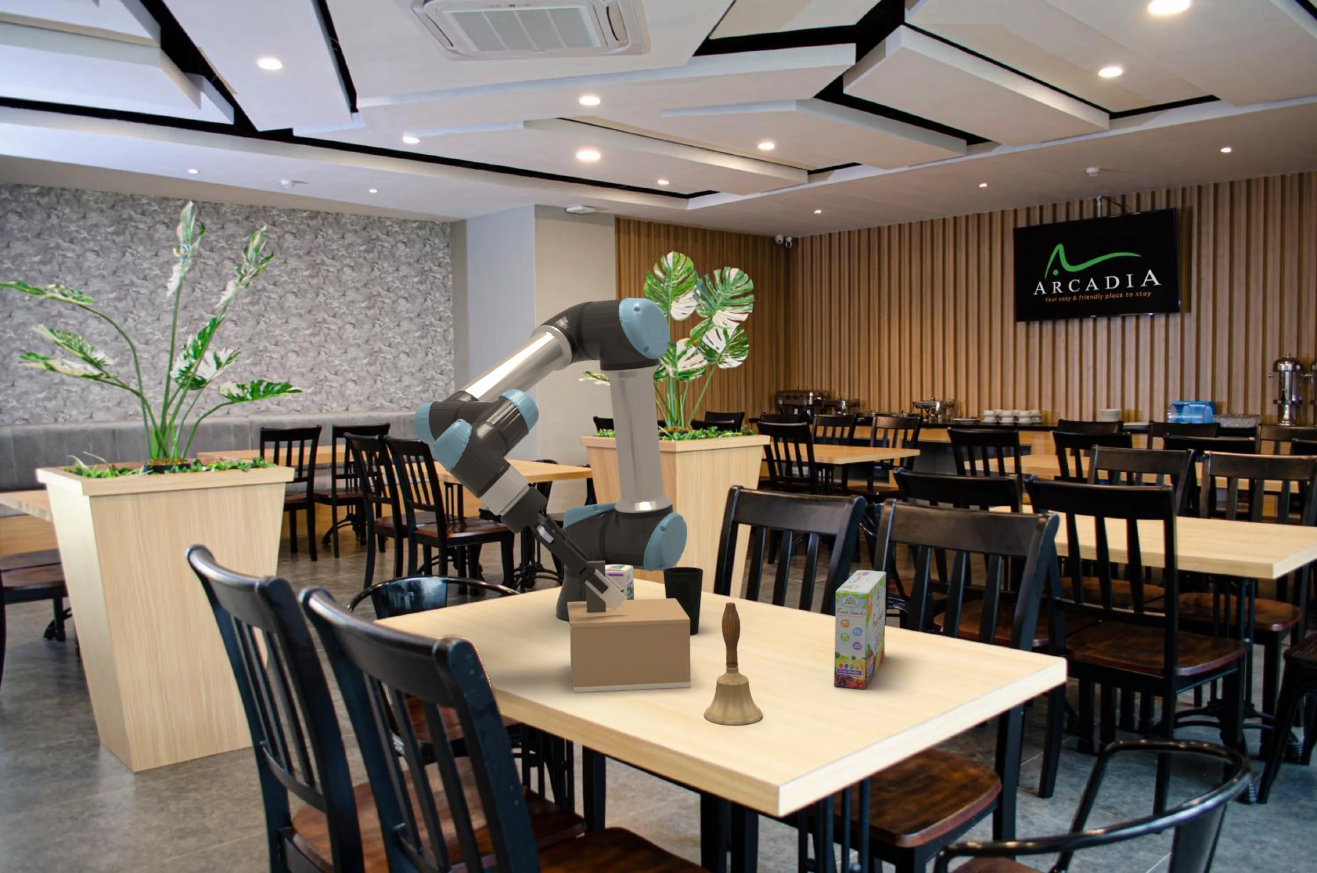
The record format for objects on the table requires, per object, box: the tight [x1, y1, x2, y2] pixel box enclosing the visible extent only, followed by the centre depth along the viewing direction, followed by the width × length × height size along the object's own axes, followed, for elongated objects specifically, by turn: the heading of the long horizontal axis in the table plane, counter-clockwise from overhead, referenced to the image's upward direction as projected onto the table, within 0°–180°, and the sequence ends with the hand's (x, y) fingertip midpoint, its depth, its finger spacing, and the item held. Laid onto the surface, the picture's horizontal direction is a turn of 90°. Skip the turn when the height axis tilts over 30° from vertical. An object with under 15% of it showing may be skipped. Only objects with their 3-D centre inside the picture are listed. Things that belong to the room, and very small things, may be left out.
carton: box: [569, 623, 692, 693], centre depth 159 cm, size 18×16×10 cm
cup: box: [662, 566, 704, 636], centre depth 188 cm, size 8×8×12 cm
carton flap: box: [567, 561, 690, 629], centre depth 158 cm, size 18×16×9 cm
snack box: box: [833, 569, 887, 690], centre depth 160 cm, size 21×6×15 cm, turn 160°
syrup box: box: [605, 564, 635, 600], centre depth 178 cm, size 6×6×14 cm
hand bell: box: [703, 602, 764, 726], centre depth 138 cm, size 8×8×16 cm
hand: (618, 599), depth 158 cm, fingers open, 7 cm apart
